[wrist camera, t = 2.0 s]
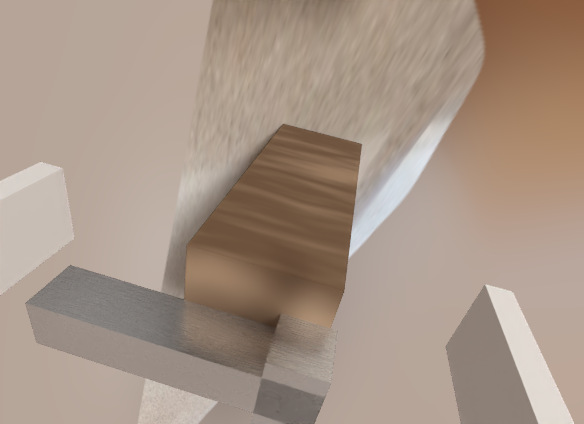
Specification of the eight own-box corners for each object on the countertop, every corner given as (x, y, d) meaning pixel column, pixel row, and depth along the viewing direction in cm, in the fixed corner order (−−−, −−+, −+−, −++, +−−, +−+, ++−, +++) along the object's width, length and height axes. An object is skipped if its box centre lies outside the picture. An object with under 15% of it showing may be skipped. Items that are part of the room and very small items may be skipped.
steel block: (67, 249, 26) (20, 286, 22) (337, 330, 24) (331, 383, 21) (79, 315, 30) (40, 355, 26) (314, 389, 28) (306, 443, 25)
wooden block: (283, 123, 47) (186, 245, 23) (361, 144, 46) (344, 291, 23) (267, 212, 54) (181, 374, 31) (334, 231, 54) (299, 412, 30)
